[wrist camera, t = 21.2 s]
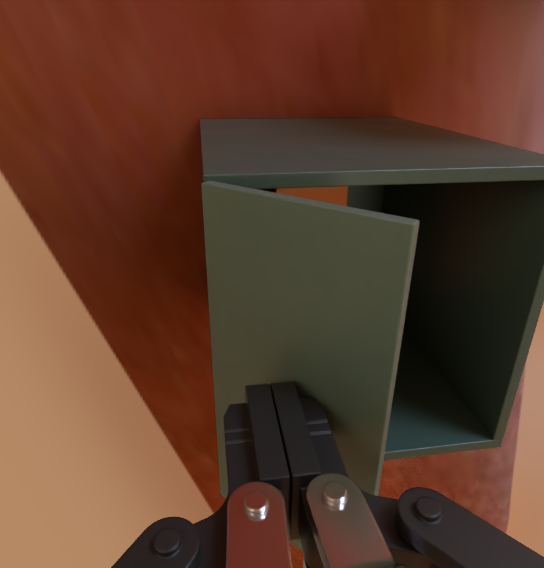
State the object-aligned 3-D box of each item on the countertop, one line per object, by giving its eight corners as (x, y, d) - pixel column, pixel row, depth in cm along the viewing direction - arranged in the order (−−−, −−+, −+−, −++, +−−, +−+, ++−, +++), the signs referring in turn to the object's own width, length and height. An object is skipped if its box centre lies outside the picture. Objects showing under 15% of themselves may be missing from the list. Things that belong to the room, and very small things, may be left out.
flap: (226, 488, 19) (220, 495, 19) (210, 180, 13) (200, 182, 13) (365, 581, 16) (360, 590, 15) (420, 219, 10) (414, 224, 10)
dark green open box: (210, 302, 34) (221, 480, 19) (199, 118, 29) (203, 174, 14) (376, 291, 36) (500, 447, 21) (396, 117, 30) (585, 164, 16)
